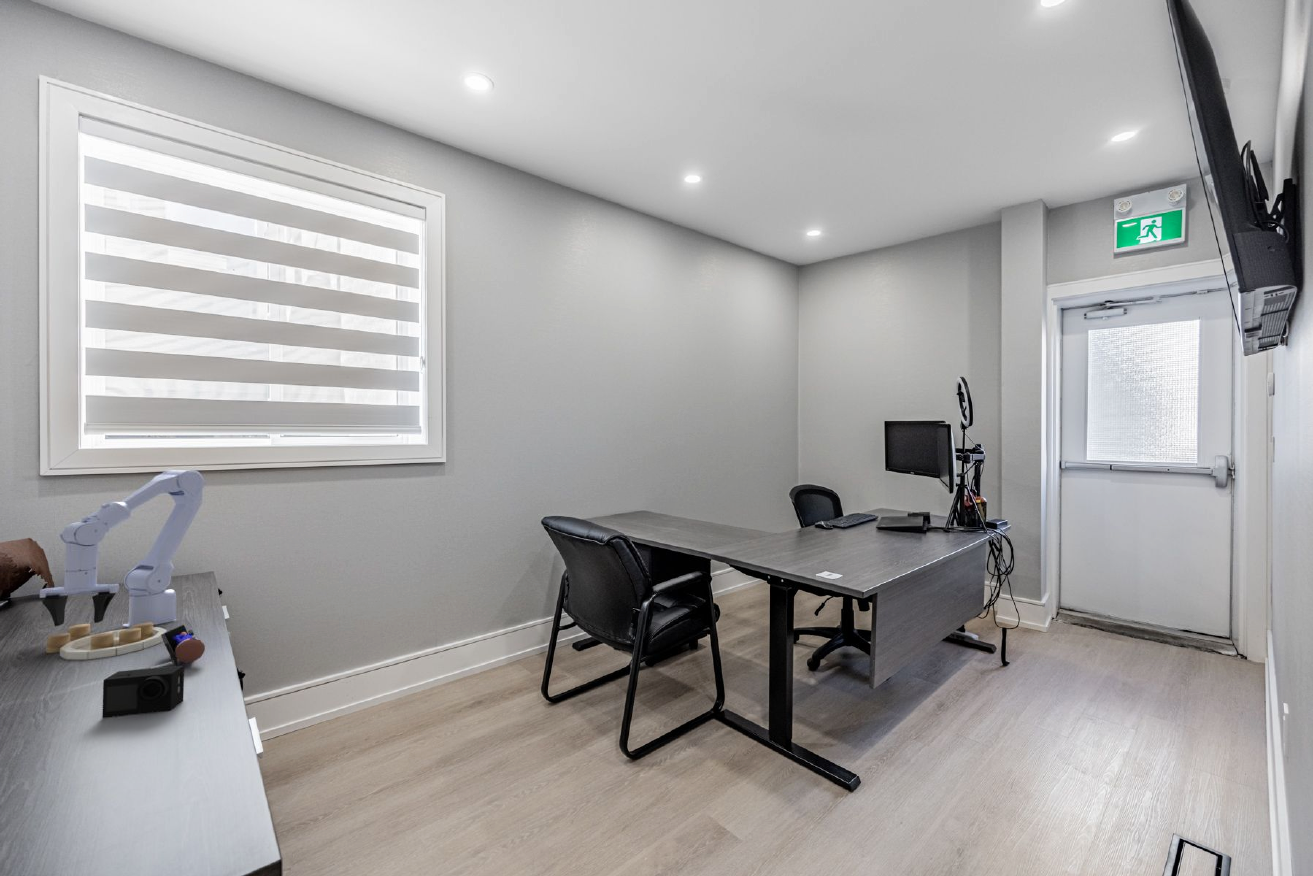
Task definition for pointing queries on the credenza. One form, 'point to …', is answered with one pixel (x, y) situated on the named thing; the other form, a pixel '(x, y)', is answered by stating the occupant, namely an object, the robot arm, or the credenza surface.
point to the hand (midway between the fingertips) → (79, 623)
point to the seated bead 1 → (102, 641)
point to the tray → (83, 646)
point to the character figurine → (183, 645)
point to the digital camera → (143, 691)
